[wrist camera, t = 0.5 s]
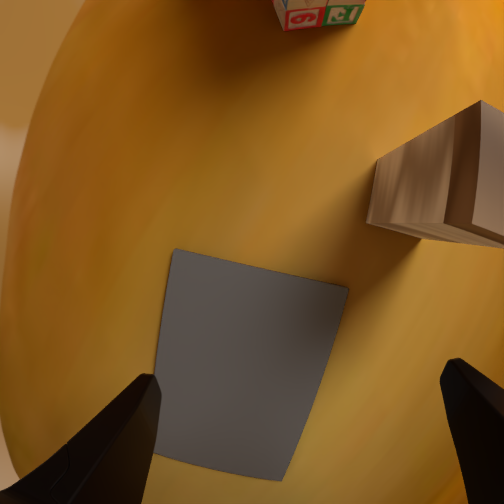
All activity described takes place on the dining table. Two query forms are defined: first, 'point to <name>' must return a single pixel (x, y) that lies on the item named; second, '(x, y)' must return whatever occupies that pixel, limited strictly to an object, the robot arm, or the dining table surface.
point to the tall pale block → (446, 181)
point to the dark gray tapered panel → (240, 363)
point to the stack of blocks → (317, 12)
